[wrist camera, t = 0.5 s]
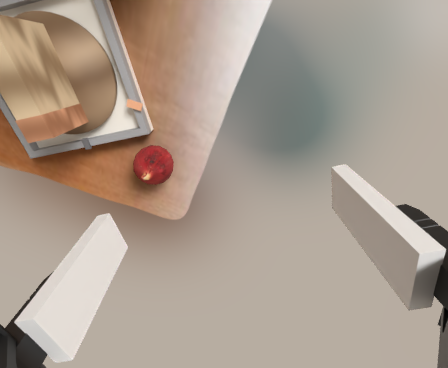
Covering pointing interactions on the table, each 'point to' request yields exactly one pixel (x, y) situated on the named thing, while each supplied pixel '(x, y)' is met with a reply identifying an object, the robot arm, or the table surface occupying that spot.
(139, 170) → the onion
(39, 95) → the dial
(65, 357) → the robot arm
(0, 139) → the table surface
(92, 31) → the panel
